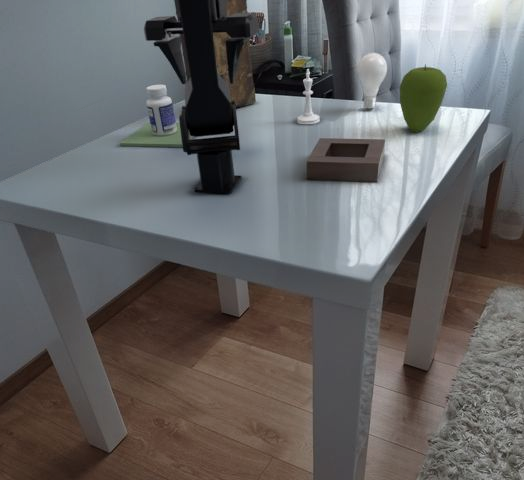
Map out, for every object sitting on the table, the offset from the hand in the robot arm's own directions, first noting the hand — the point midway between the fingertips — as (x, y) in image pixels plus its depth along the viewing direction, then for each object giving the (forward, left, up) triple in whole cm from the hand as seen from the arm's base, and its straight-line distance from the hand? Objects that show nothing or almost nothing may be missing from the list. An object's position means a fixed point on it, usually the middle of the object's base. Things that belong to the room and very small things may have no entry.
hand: (208, 83), depth 90 cm
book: (+29, +9, -12) cm, 33 cm away
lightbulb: (+29, -26, -12) cm, 41 cm away
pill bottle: (+9, +15, -12) cm, 21 cm away
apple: (+15, -37, -12) cm, 42 cm away
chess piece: (+20, -14, -12) cm, 27 cm away
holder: (-6, -26, -12) cm, 29 cm away
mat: (+9, +15, -12) cm, 21 cm away
